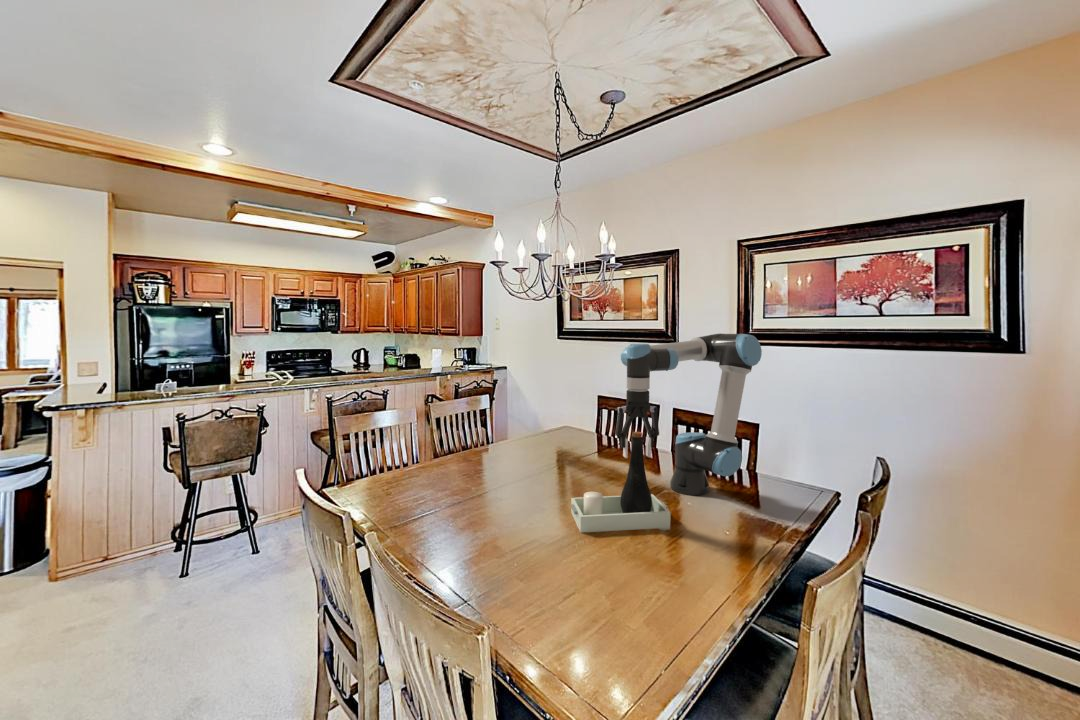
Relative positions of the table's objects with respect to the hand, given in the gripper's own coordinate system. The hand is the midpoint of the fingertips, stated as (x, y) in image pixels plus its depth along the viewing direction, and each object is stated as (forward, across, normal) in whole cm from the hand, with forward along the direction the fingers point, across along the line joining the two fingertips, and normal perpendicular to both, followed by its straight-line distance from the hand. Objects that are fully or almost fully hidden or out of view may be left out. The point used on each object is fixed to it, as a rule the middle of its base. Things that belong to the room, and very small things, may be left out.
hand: (636, 456), depth 155 cm
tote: (+23, +6, 0) cm, 23 cm away
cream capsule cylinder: (+22, +15, 0) cm, 26 cm away
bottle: (+22, 0, 0) cm, 22 cm away
